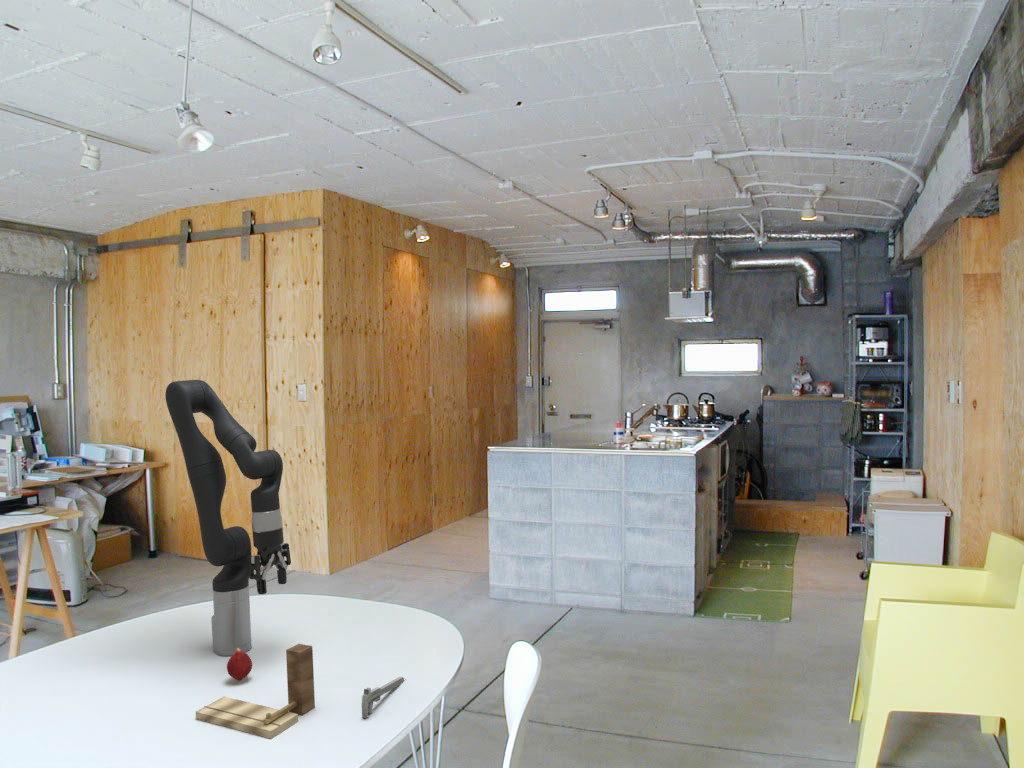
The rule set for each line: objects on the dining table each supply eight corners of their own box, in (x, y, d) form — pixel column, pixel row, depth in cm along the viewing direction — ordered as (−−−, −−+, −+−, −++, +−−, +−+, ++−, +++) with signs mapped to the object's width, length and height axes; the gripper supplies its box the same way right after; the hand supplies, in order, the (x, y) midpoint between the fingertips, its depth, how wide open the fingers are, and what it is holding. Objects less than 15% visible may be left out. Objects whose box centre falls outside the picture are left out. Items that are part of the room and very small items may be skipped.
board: (196, 718, 165) (195, 711, 165) (224, 703, 173) (224, 696, 172) (271, 738, 156) (270, 730, 156) (298, 721, 163) (297, 713, 163)
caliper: (366, 720, 163) (365, 692, 163) (362, 720, 163) (361, 691, 163) (405, 680, 182) (404, 655, 182) (401, 680, 183) (400, 654, 182)
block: (258, 730, 159) (255, 665, 159) (301, 704, 171) (298, 643, 170) (272, 734, 157) (270, 668, 157) (314, 707, 169) (312, 646, 168)
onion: (257, 677, 186) (256, 645, 186) (242, 687, 181) (240, 654, 181) (238, 674, 188) (236, 643, 188) (222, 684, 183) (221, 651, 183)
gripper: (272, 521, 204) (277, 580, 204) (237, 533, 190) (242, 597, 191) (295, 521, 201) (300, 581, 202) (262, 533, 188) (267, 597, 188)
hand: (272, 588), depth 196 cm, fingers open, 8 cm apart
